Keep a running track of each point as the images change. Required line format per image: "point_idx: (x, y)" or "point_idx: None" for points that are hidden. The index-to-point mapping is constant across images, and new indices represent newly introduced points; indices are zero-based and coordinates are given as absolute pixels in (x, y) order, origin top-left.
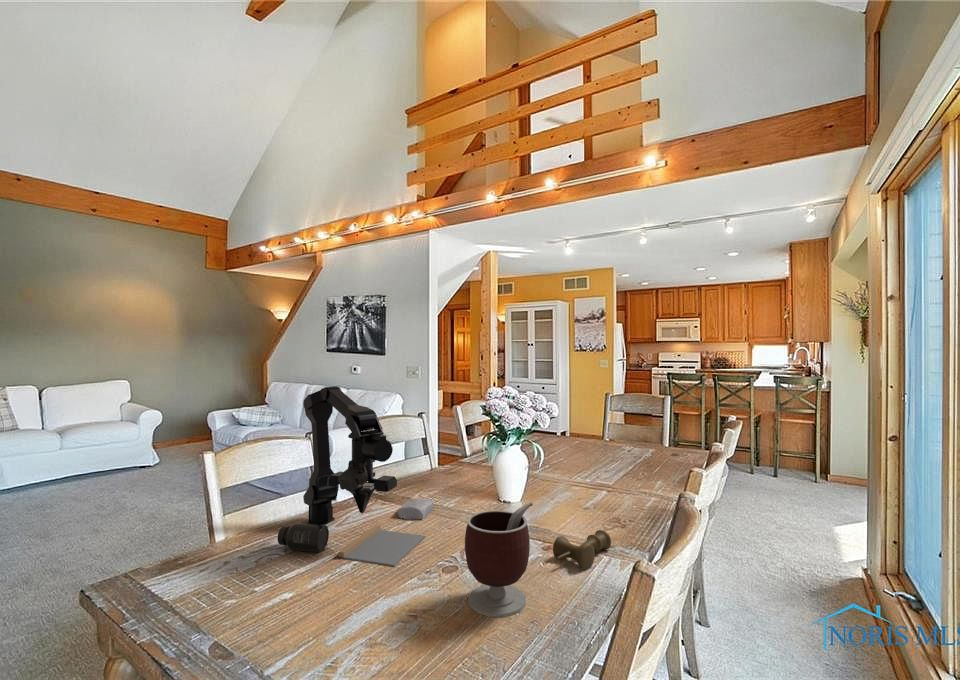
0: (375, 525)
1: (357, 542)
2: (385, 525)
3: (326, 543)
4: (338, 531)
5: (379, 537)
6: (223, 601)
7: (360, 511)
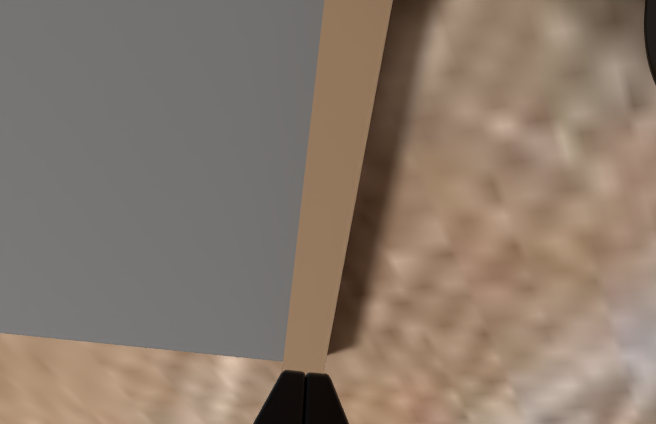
0: None
1: (316, 85)
2: None
3: (651, 35)
4: (591, 319)
5: (224, 261)
6: None
7: (314, 387)
